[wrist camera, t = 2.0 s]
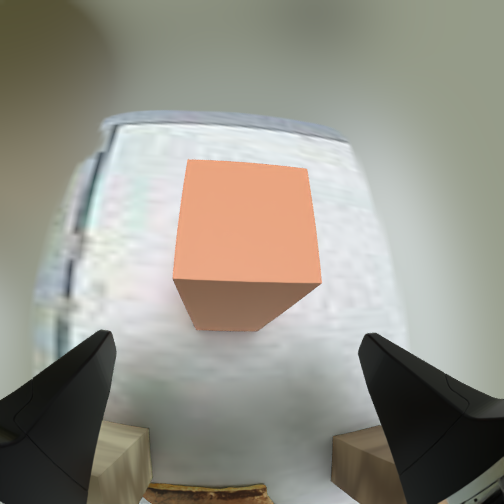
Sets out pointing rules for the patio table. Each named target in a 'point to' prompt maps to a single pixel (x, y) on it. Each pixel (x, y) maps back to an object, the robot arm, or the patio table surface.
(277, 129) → the patio table surface
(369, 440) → the walnut block
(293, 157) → the patio table surface
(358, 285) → the patio table surface
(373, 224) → the patio table surface
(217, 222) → the salmon orange block
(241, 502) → the shard
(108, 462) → the birch block
